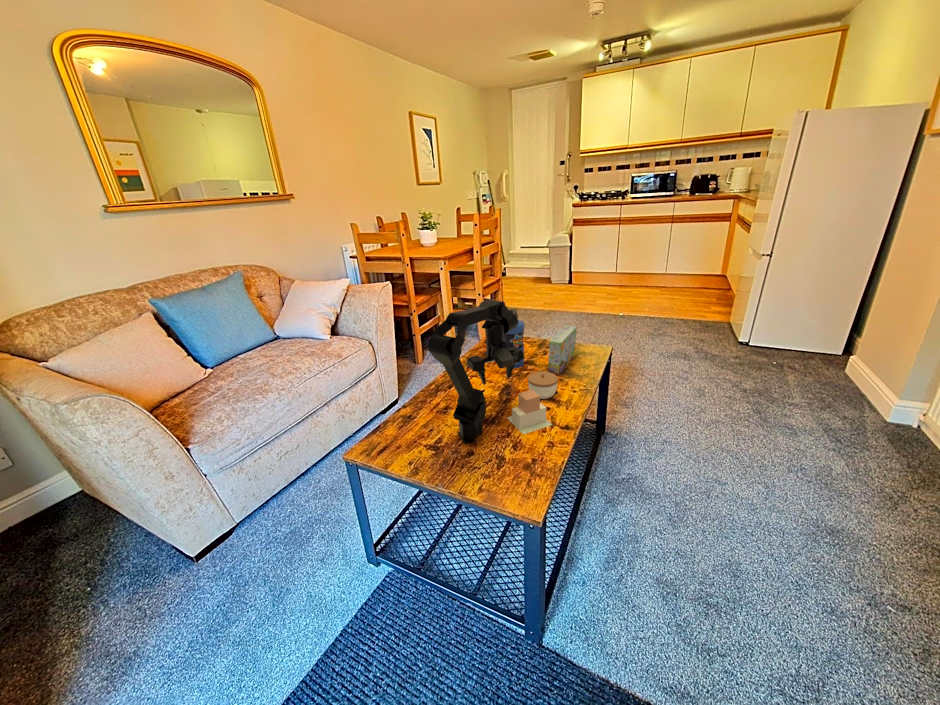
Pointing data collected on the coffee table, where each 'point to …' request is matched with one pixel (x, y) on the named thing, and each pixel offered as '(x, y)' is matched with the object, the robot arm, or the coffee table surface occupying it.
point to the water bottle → (516, 338)
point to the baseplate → (532, 427)
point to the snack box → (562, 349)
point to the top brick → (529, 401)
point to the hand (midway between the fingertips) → (496, 381)
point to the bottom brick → (528, 417)
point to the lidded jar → (543, 384)
